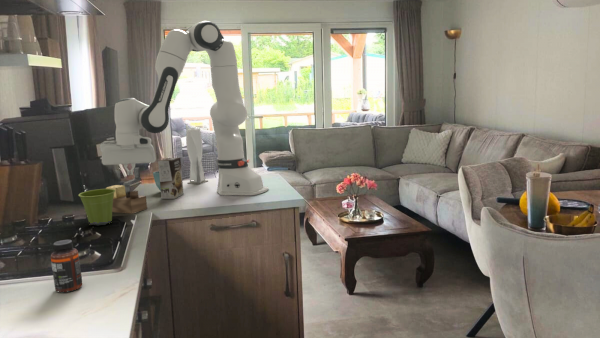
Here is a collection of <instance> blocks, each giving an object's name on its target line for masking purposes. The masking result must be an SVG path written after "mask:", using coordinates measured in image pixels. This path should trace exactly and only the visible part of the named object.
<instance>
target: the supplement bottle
mask: <svg viewBox="0 0 600 338" xmlns="http://www.w3.org/2000/svg"><path fill="white" fill-rule="evenodd" d="M53 249H54V250H53V251H52V252H51V254H50V261H51V262H50V263H51V269H52V276H53V284H54V290H55V291H56V292H57V291H59V292H58V293H61V292H64V293H68V292H67V291H71V292H74V291H73V290H75V291H77V290H79V289H80V288H82V286H83V279H82V278H83V277H82V271H81V270H82V269H81V263H80V255H79V250H78V249H77V248H74V245H73V241H72V240H71V239H63V240H58V241H55V242H54V243H53ZM76 289H77V290H76Z"/></svg>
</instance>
